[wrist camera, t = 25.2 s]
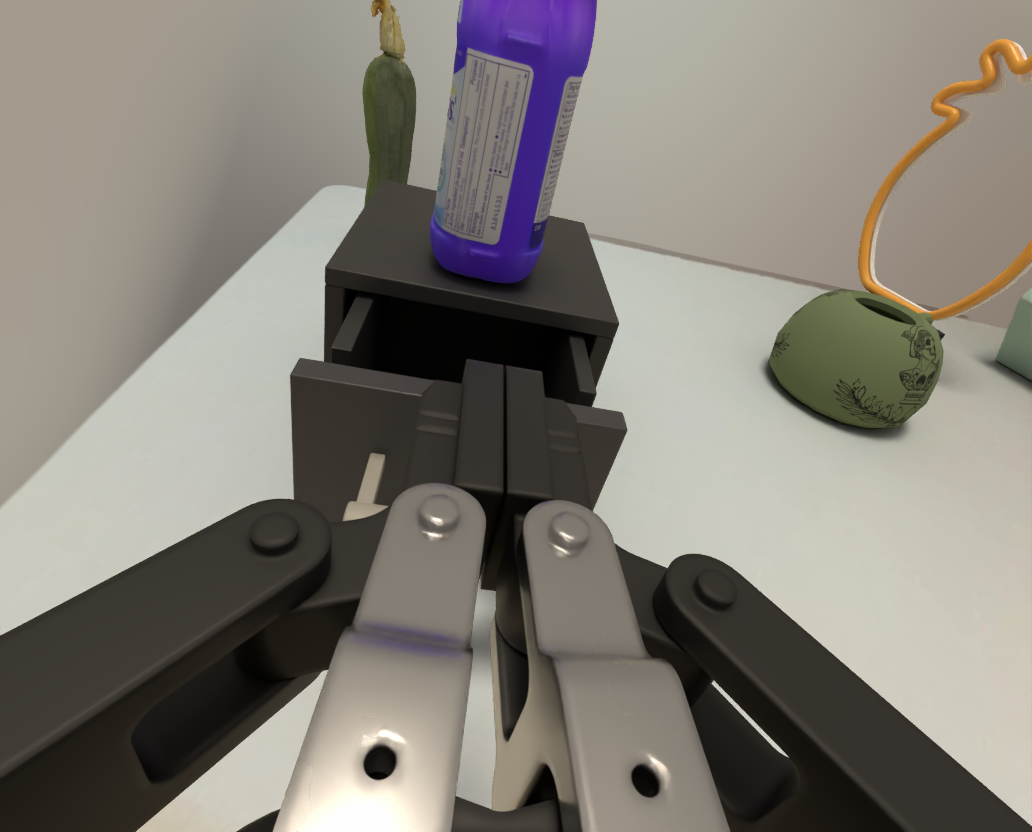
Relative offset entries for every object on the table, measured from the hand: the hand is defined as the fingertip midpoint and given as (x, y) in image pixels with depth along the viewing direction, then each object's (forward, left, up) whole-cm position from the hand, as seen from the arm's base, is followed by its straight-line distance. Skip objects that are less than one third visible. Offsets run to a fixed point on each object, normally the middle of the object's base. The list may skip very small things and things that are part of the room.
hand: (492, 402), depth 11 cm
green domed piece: (+4, +47, -16) cm, 50 cm away
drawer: (-8, +9, -14) cm, 19 cm away
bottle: (-13, +14, -5) cm, 20 cm away
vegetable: (-36, +26, -16) cm, 47 cm away
